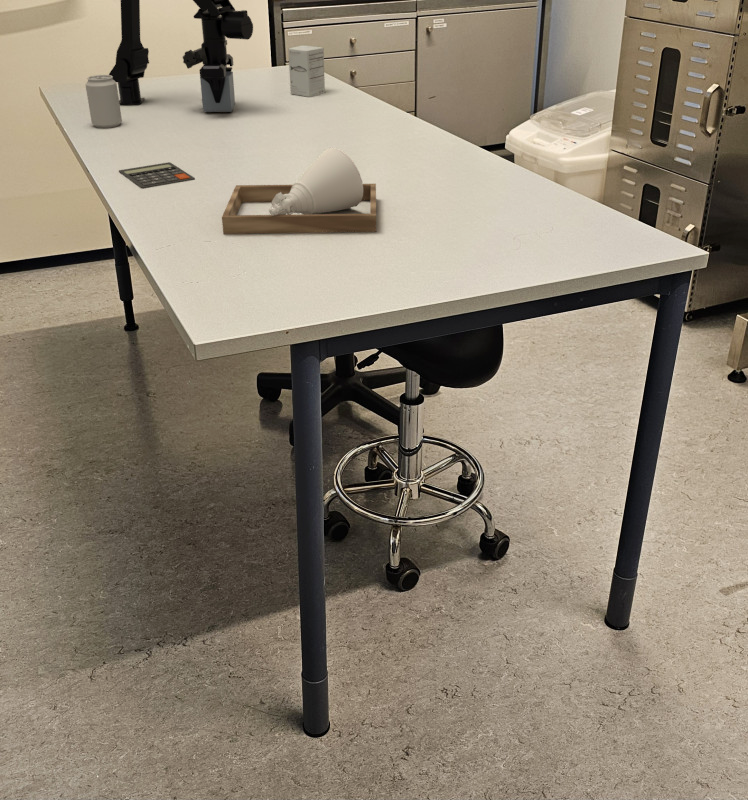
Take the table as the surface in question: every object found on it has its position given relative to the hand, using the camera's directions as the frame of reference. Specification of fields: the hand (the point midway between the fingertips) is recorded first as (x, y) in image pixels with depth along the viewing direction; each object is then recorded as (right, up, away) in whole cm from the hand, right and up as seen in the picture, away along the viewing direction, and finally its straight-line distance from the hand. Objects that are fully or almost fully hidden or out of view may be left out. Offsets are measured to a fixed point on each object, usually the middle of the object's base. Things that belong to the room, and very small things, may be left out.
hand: (219, 99), depth 246 cm
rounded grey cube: (0, -2, +1) cm, 2 cm away
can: (-27, -10, -11) cm, 31 cm away
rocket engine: (+29, -46, -76) cm, 93 cm away
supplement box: (+22, +8, +20) cm, 31 cm away
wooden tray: (+28, -46, -75) cm, 92 cm away
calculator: (-5, -33, -50) cm, 61 cm away
